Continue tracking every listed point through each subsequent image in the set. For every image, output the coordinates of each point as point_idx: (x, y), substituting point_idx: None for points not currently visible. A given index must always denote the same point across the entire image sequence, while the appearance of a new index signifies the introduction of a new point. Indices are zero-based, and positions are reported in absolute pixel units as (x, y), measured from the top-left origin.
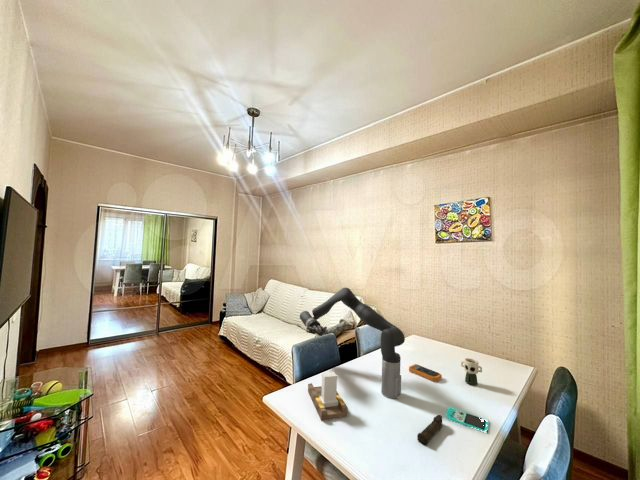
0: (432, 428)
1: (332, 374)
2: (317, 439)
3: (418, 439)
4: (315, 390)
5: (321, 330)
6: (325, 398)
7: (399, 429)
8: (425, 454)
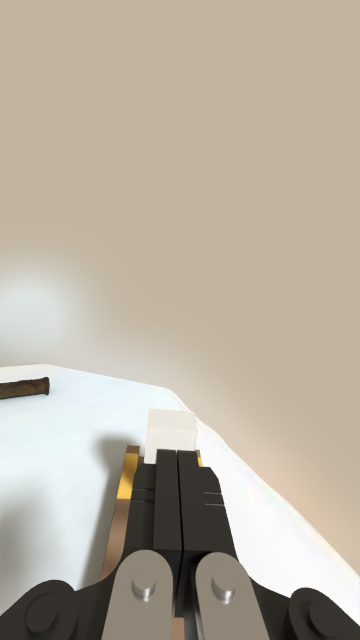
0: (12, 382)
1: (161, 416)
2: (212, 433)
3: (48, 391)
4: None
5: (115, 582)
6: None
7: (47, 415)
8: (64, 383)
